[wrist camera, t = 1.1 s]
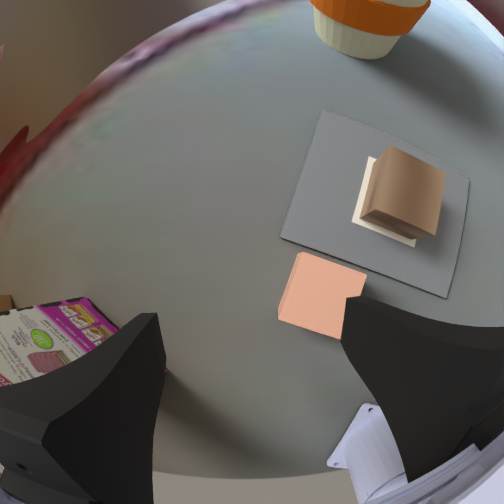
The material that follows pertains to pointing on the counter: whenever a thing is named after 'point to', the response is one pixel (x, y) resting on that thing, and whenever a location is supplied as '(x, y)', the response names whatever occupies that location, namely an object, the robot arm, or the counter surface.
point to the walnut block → (404, 195)
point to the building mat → (351, 201)
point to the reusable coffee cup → (365, 24)
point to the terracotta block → (319, 294)
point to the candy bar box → (48, 337)
